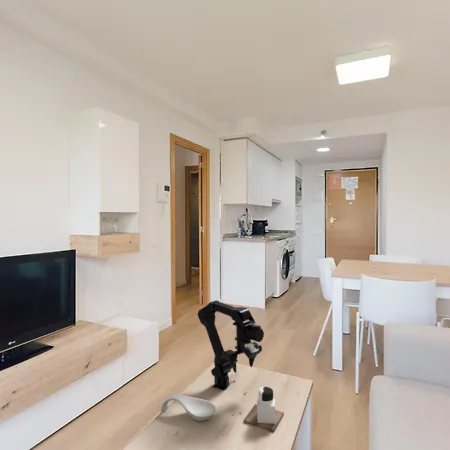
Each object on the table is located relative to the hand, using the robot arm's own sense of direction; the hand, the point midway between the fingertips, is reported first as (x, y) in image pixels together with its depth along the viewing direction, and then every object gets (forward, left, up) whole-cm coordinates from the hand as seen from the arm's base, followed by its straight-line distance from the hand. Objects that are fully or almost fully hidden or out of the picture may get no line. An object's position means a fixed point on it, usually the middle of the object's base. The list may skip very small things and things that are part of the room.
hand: (243, 369), depth 146 cm
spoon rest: (-16, -22, -14) cm, 30 cm away
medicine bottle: (+15, -11, -12) cm, 22 cm away
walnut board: (+14, -10, -13) cm, 22 cm away
